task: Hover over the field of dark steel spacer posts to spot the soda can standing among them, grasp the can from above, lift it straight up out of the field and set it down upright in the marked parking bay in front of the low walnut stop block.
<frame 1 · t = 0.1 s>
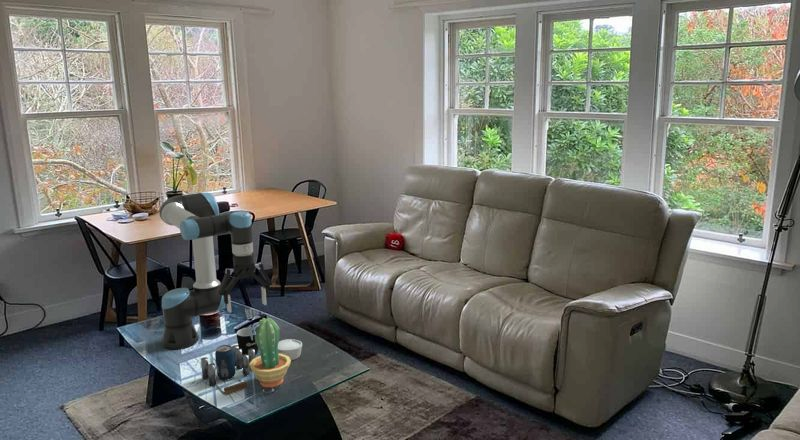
hand: (247, 307, 231), 28 cm above the table, tool pointing down, fingers open, 13 cm apart
mug: (252, 353, 256), on the table
walnut stop: (236, 391, 225), on the table
potted cactus: (271, 381, 232), on the table
soda can: (226, 377, 236), on the table
bay lines: (231, 386, 229), on the table
ramekin: (289, 356, 253), on the table
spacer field: (226, 376, 236), on the table
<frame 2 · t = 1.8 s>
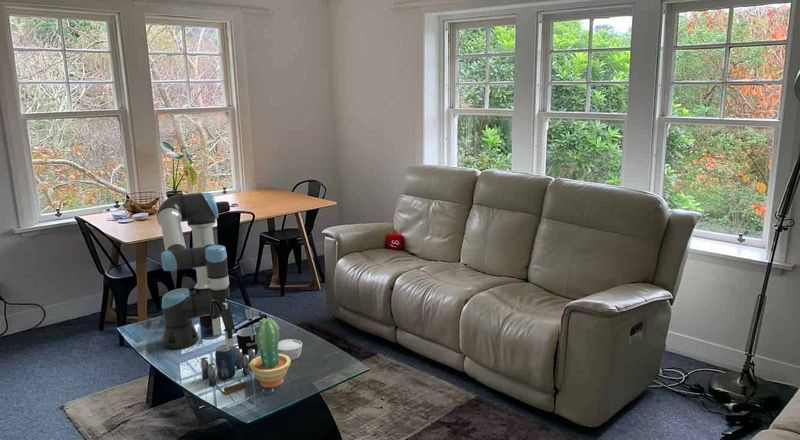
hand: (223, 340, 232), 15 cm above the table, tool pointing down, fingers open, 13 cm apart
nothing on the table moved.
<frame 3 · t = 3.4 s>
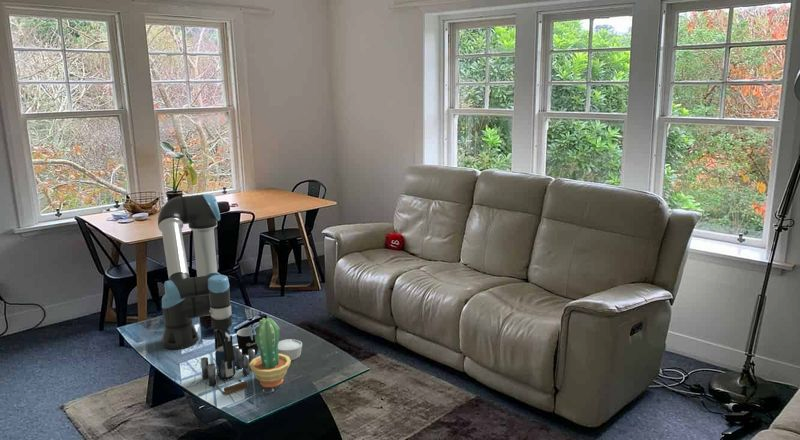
hand: (226, 372, 236), 2 cm above the table, tool pointing down, fingers closed on soda can, 7 cm apart
soda can: (226, 377, 236), on the table, touching gripper
everything else where it was.
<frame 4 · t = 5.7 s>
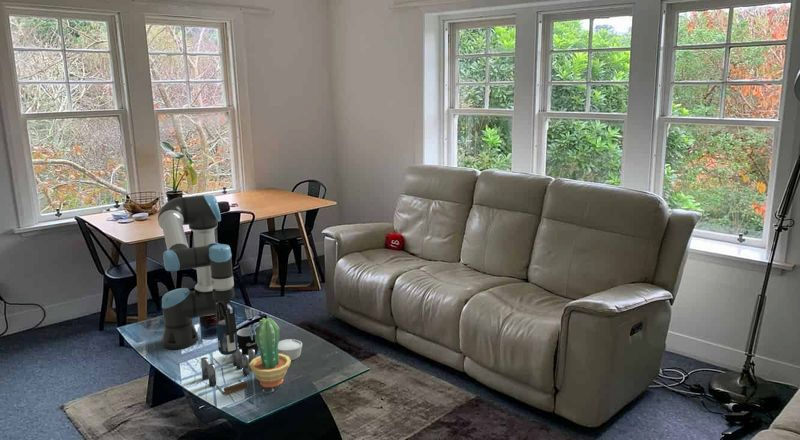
hand: (228, 346, 225), 16 cm above the table, tool pointing down, fingers closed on soda can, 7 cm apart
soda can: (228, 352, 226), point 14 cm above the table, touching gripper
everything else where it was.
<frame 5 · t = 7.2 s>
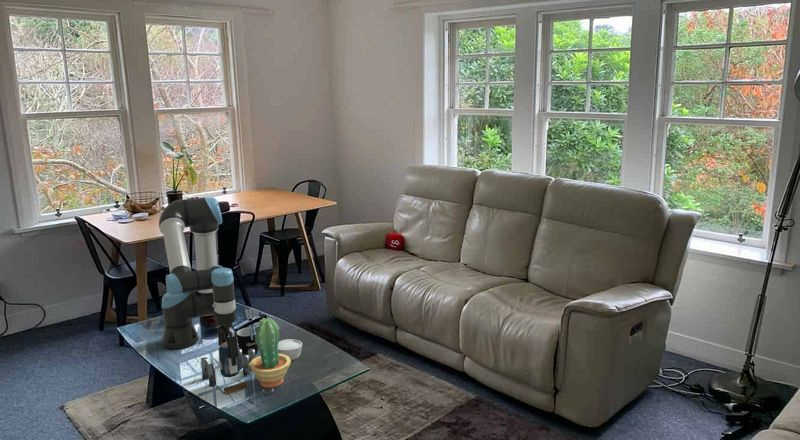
hand: (230, 368, 227), 7 cm above the table, tool pointing down, fingers closed on soda can, 7 cm apart
soda can: (230, 374, 227), point 5 cm above the table, touching gripper
everything else where it was.
when the fingers open (3 cm above the table, at t = 8.3 s): soda can drops 1 cm, on the table.
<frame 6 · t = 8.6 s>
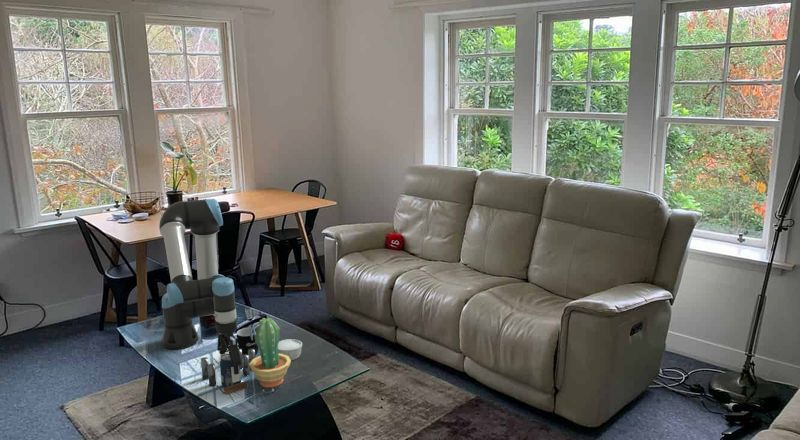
hand: (230, 375, 228), 4 cm above the table, tool pointing down, fingers open, 10 cm apart
soda can: (231, 386, 229), on the table
everything else where it was.
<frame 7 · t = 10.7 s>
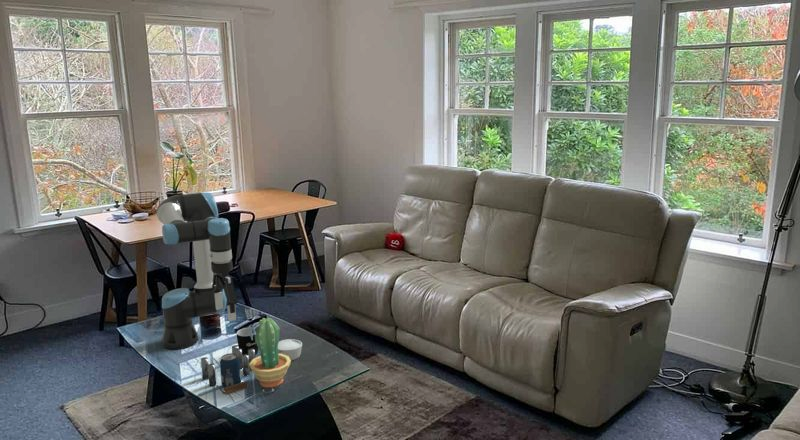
hand: (225, 314, 229), 26 cm above the table, tool pointing down, fingers open, 13 cm apart
nothing on the table moved.
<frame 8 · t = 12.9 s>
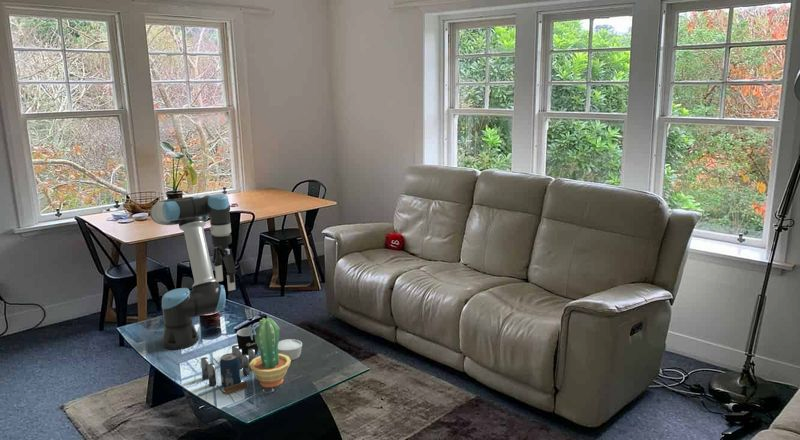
hand: (225, 285, 244), 32 cm above the table, tool pointing down, fingers open, 13 cm apart
nothing on the table moved.
at the end: soda can inside the target area (0.4 cm from its centre), on the table; soda can tilted 0°; the gripper is holding nothing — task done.
